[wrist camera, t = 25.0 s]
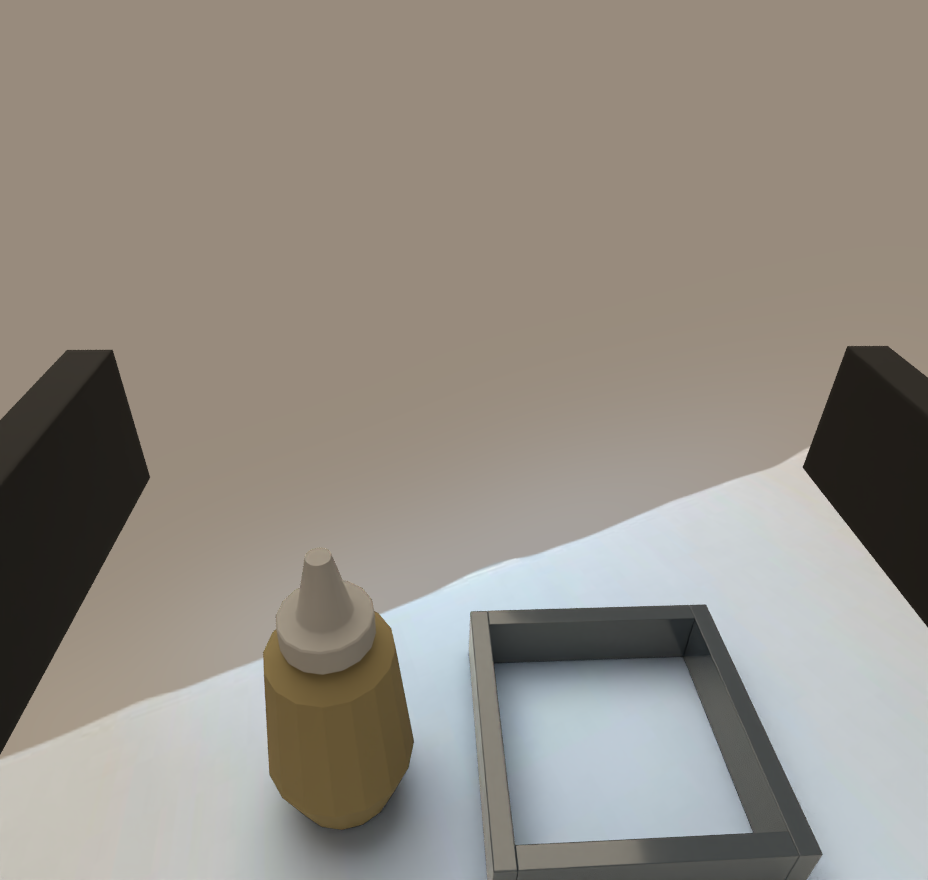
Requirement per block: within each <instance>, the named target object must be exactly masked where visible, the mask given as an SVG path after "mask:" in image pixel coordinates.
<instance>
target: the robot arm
mask: <svg viewBox="0 0 928 880" xmlns="http://www.w3.org/2000/svg"><path fill="white" fill-rule="evenodd" d="M803 469H804V470H805V471H806V472H807V474H808V475H809V476H810V478H811V479H812V480H813V481H814V483H815V484H816V485H817V486H818V488H819V489H820V490H821V492H822V493H823V494H824V495H825V497H826V498H827V499H828V501H829V502H830V503H831V504H832V506H833V507H834V508H835V509H836V511H837V512H838V513H839V515H840V516H841V517H842V518H843V520H844V521H845V522H846V523H847V525H848V526H849V527H850V529H851V530H852V531H853V532H854V534H855V535H856V536H857V538H858V539H859V540H860V541H861V543H862V544H863V545H864V546H865V548H866V549H867V550H868V552H869V553H870V554H871V555H872V557H873V558H874V559H875V561H876V562H877V563H878V564H879V566H880V567H881V568H882V569H883V571H884V572H885V573H886V575H887V576H888V577H889V578H890V580H891V581H892V582H893V584H894V585H895V586H896V587H897V589H898V590H899V591H900V592H901V594H902V595H903V596H904V598H905V599H906V600H907V601H908V603H909V604H910V605H911V607H912V608H913V609H914V610H915V612H916V613H917V614H918V615H919V617H920V618H921V619H922V621H923V622H924V623H925V624H926V626H927V627H928V377H926V376H925V375H924V374H922V373H921V372H920V371H919V370H917V369H916V368H915V367H914V366H912V365H911V364H910V363H908V362H907V361H906V360H905V359H903V358H902V357H901V356H899V355H898V354H897V353H896V352H894V351H893V350H892V349H891V348H889V347H888V346H848V347H847V349H846V351H845V354H844V357H843V360H842V362H841V365H840V368H839V371H838V373H837V376H836V379H835V381H834V384H833V387H832V389H831V392H830V395H829V398H828V400H827V403H826V406H825V408H824V411H823V414H822V417H821V419H820V422H819V425H818V428H817V430H816V433H815V436H814V438H813V441H812V444H811V446H810V449H809V452H808V455H807V457H806V460H805V463H804V465H803ZM149 478H150V476H149V472H148V469H147V465H146V462H145V459H144V455H143V452H142V448H141V445H140V441H139V438H138V435H137V432H136V428H135V424H134V421H133V418H132V415H131V411H130V408H129V404H128V401H127V397H126V394H125V391H124V387H123V384H122V381H121V377H120V373H119V370H118V367H117V363H116V360H115V357H114V353H113V350H67V351H66V352H65V353H64V354H63V355H62V356H61V357H60V358H59V359H58V360H57V361H56V362H55V363H54V365H52V366H51V367H50V368H49V369H48V370H47V372H46V373H45V374H44V375H43V376H42V377H41V378H40V379H39V380H38V381H37V382H36V383H35V384H34V385H33V386H32V388H30V389H29V391H28V392H27V393H26V394H25V395H24V396H23V397H22V398H21V399H20V400H19V401H18V402H17V403H16V404H15V405H14V406H13V407H12V408H11V409H10V411H9V412H8V413H7V414H6V415H5V416H4V417H3V418H2V419H1V420H0V754H1V752H2V750H3V748H4V747H5V745H6V743H7V741H8V739H9V737H10V736H11V734H12V732H13V730H14V728H15V726H16V724H17V723H18V721H19V719H20V717H21V715H22V713H23V711H24V709H25V708H26V706H27V704H28V702H29V700H30V698H31V697H32V695H33V693H34V691H35V689H36V687H37V686H38V684H39V682H40V680H41V678H42V676H43V674H44V673H45V671H46V669H47V667H48V665H49V663H50V662H51V660H52V658H53V656H54V654H55V652H56V650H57V649H58V647H59V645H60V643H61V641H62V639H63V637H64V635H65V634H66V632H67V630H68V628H69V626H70V625H71V623H72V621H73V619H74V617H75V615H76V613H77V612H78V610H79V608H80V606H81V604H82V602H83V600H84V599H85V597H86V595H87V593H88V591H89V589H90V588H91V585H92V584H93V582H94V580H95V578H96V576H97V575H98V573H99V571H100V569H101V567H102V565H103V563H104V562H105V560H106V558H107V556H108V554H109V552H110V551H111V549H112V547H113V545H114V543H115V541H116V539H117V538H118V536H119V534H120V532H121V530H122V528H123V526H124V525H125V523H126V521H127V519H128V517H129V515H130V514H131V512H132V510H133V508H134V506H135V504H136V503H137V500H138V499H139V497H140V495H141V493H142V491H143V489H144V488H145V486H146V484H147V482H148V480H149Z"/></svg>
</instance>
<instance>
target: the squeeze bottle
mask: <svg viewBox="0 0 928 880" xmlns="http://www.w3.org/2000/svg"><path fill="white" fill-rule="evenodd" d="M263 657H264V683H265V701H266V720H267V738H268V756H269V774H270V776H271V778H272V780H273V782H274V783H275V785H276V787H277V789H278V791H279V793H280V794H281V796H282V798H283V799H285V800H286V801H287V802H289V803H290V804H291V805H292V806H294V807H295V808H296V809H297V810H299V811H300V812H301V813H303V814H304V815H305V816H306V817H308V818H309V819H311V820H312V821H314V822H315V823H317V824H318V825H320V826H321V827H327V828H333V829H340V830H343V829H347V828H351V827H355V826H359V825H363V824H364V823H366V822H367V821H368V820H370V819H371V818H373V817H374V816H376V815H377V814H378V813H380V812H381V810H382V809H383V807H384V806H385V805H386V803H387V802H388V800H389V799H390V797H391V796H392V794H393V792H394V791H395V789H396V787H397V786H398V784H399V783H400V781H401V779H402V778H403V776H404V774H405V773H406V771H407V769H408V767H409V762H410V758H411V753H412V748H413V743H414V739H413V734H412V729H411V724H410V719H409V714H408V709H407V704H406V699H405V693H404V688H403V683H402V678H401V673H400V668H399V663H398V658H397V653H396V648H395V643H394V639H393V634H392V630H391V628H390V626H389V625H388V624H387V623H386V622H385V621H384V619H383V618H382V617H381V616H380V615H379V614H378V613H377V612H375V611H374V608H373V603H372V599H371V598H370V597H369V595H368V594H367V593H366V592H365V591H364V590H363V588H361V587H359V586H357V585H355V584H352V583H350V582H348V581H343V580H342V578H341V575H340V573H339V571H338V568H337V566H336V564H335V561H334V559H333V557H332V554H331V553H330V551H329V550H327V549H325V548H315V549H312V550H310V551H309V552H308V553H306V556H305V559H304V566H303V572H302V579H301V586H300V588H298V589H296V590H295V591H294V592H293V593H291V594H290V595H289V596H288V597H287V598H286V599H285V600H284V601H283V602H282V604H281V606H280V608H279V610H278V612H277V614H276V630H275V631H274V632H273V633H272V635H271V637H270V639H269V641H268V643H267V646H266V648H265V650H264V652H263Z"/></svg>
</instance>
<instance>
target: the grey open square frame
mask: <svg viewBox="0 0 928 880" xmlns="http://www.w3.org/2000/svg"><path fill="white" fill-rule="evenodd" d="M682 656H683V657H684V659H685V662H686V665H687V667H688V670H689V672H690V675H691V677H692V680H693V682H694V685H695V687H696V690H697V692H698V695H699V697H700V700H701V702H702V705H703V707H704V710H705V712H706V715H707V717H708V720H709V722H710V725H711V727H712V730H713V732H714V735H715V737H716V740H717V742H718V745H719V747H720V750H721V752H722V755H723V757H724V760H725V762H726V765H727V767H728V770H729V772H730V775H731V777H732V780H733V783H734V785H735V788H736V790H737V793H738V795H739V798H740V800H741V803H742V805H743V808H744V810H745V813H746V815H747V818H748V820H749V823H750V825H751V828H752V830H753V833H745V834H725V835H706V836H686V837H667V838H647V839H627V840H608V841H588V842H569V843H549V844H529V845H516V846H515V841H514V832H513V823H512V815H511V806H510V798H509V789H508V781H507V772H506V763H505V755H504V746H503V738H502V729H501V721H500V712H499V703H498V695H497V686H496V678H495V669H494V663H505V662H534V661H564V660H594V659H623V658H653V657H682ZM469 661H470V673H471V686H472V698H473V710H474V723H475V735H476V747H477V759H478V772H479V784H480V796H481V809H482V821H483V833H484V846H485V858H486V870H487V880H807V878H808V877H809V875H810V874H811V872H812V870H813V869H814V867H815V866H816V864H817V863H818V861H819V859H820V858H821V856H822V855H823V854H822V852H821V850H820V847H819V845H818V843H817V841H816V839H815V837H814V835H813V832H812V830H811V828H810V826H809V824H808V822H807V820H806V817H805V815H804V813H803V811H802V809H801V807H800V805H799V803H798V800H797V798H796V796H795V794H794V792H793V790H792V788H791V785H790V783H789V781H788V779H787V777H786V775H785V773H784V770H783V768H782V766H781V764H780V762H779V760H778V758H777V755H776V753H775V751H774V749H773V747H772V745H771V743H770V741H769V738H768V736H767V734H766V732H765V730H764V728H763V726H762V723H761V721H760V719H759V717H758V715H757V713H756V711H755V708H754V706H753V704H752V702H751V700H750V698H749V696H748V693H747V691H746V689H745V687H744V685H743V683H742V681H741V678H740V676H739V674H738V672H737V670H736V668H735V666H734V664H733V661H732V659H731V657H730V655H729V653H728V651H727V649H726V646H725V644H724V642H723V640H722V638H721V636H720V634H719V631H718V629H717V627H716V625H715V623H714V621H713V619H712V616H711V614H710V612H709V610H708V608H707V606H706V605H674V606H639V607H605V608H570V609H535V610H501V611H488V612H487V611H473V612H470V630H469Z"/></svg>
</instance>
